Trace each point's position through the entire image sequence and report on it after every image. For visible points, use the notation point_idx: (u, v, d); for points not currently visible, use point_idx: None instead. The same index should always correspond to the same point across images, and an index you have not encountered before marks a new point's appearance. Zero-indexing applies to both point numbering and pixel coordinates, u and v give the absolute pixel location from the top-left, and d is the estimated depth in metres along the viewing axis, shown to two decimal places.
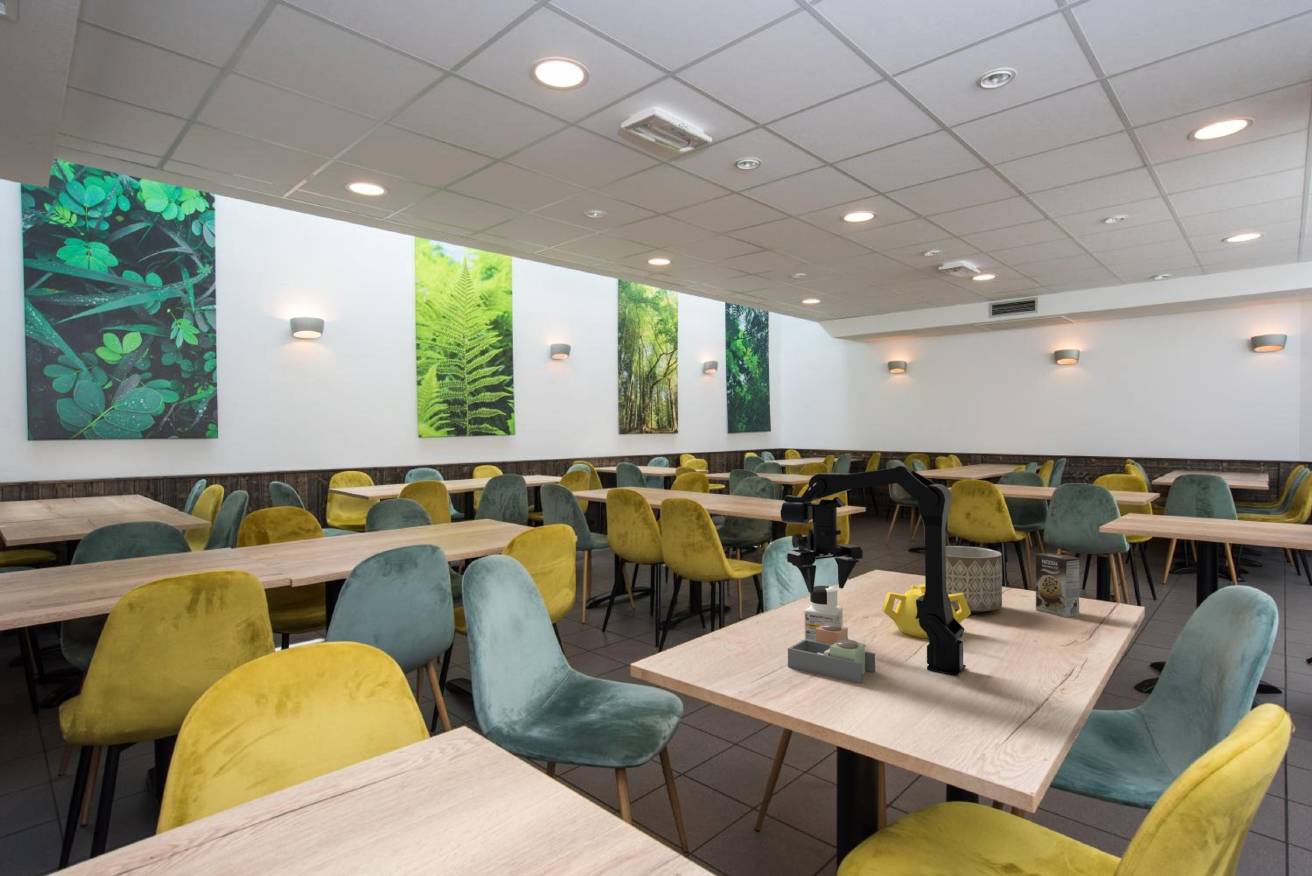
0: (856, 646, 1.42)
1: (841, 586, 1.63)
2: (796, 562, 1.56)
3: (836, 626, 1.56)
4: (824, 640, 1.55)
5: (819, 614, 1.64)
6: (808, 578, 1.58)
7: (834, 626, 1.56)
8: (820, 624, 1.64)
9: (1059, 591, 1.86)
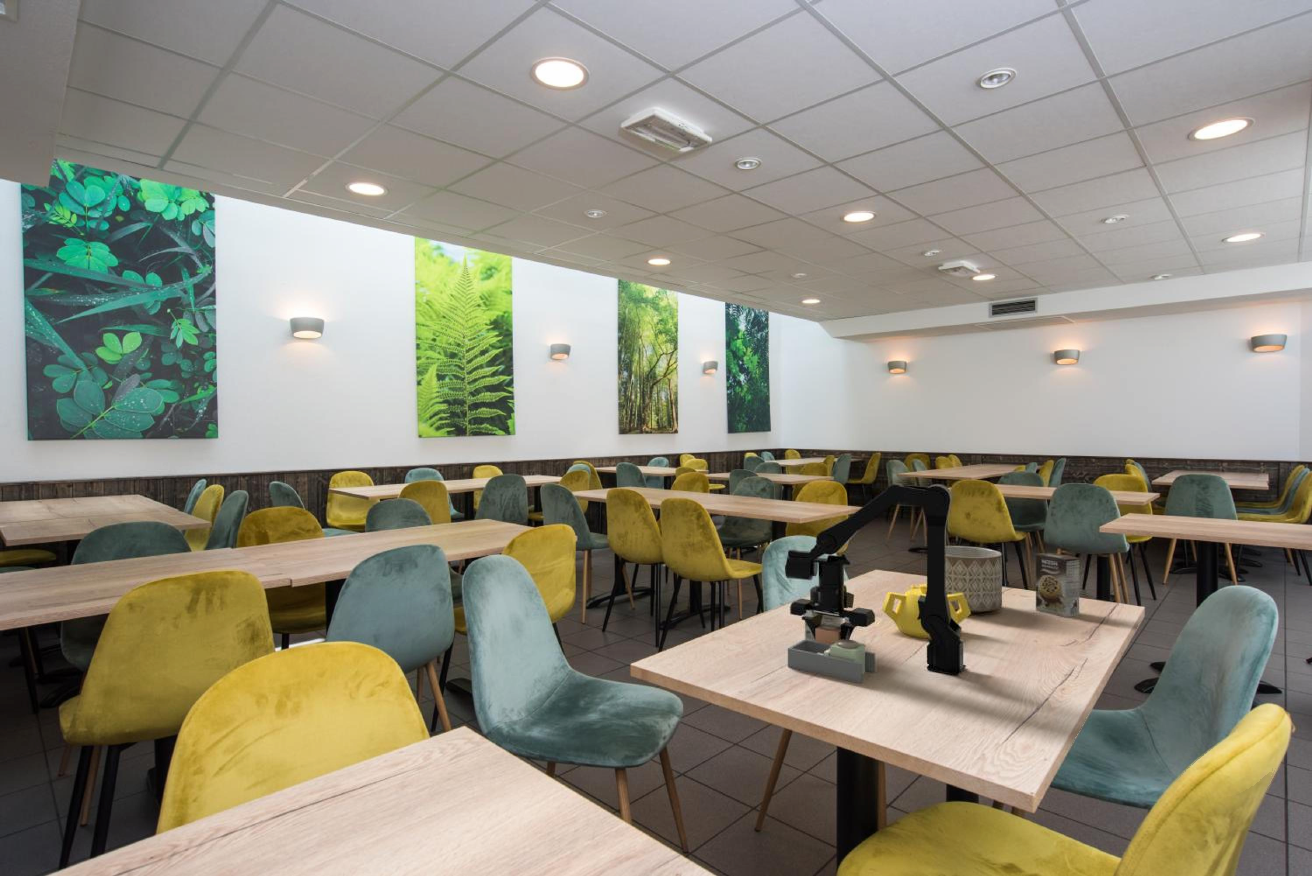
0: (856, 646, 1.42)
1: None
2: None
3: (836, 626, 1.56)
4: (824, 639, 1.55)
5: None
6: None
7: (834, 626, 1.56)
8: None
9: (1059, 591, 1.86)
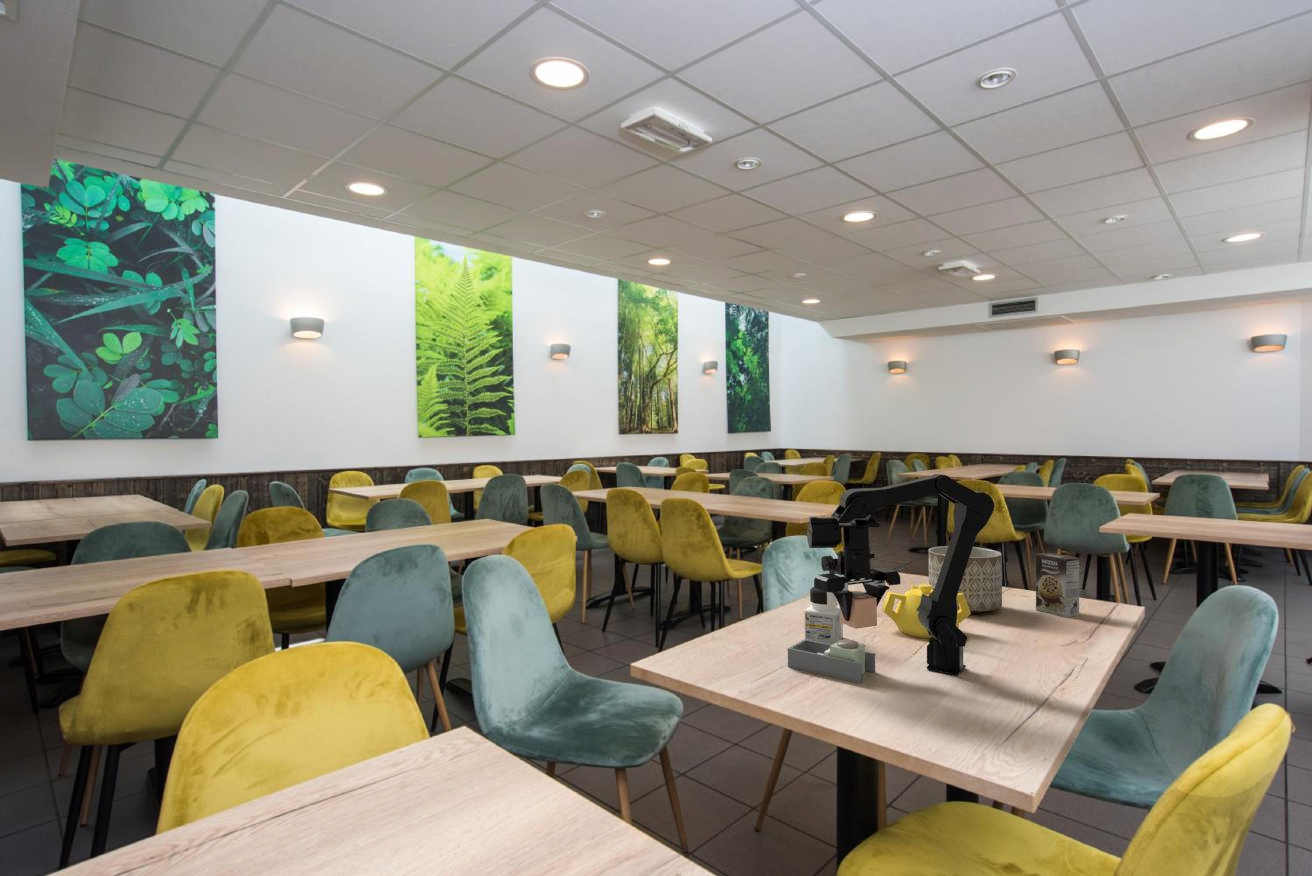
0: (856, 646, 1.42)
1: None
2: (823, 588, 1.42)
3: (862, 593, 1.47)
4: (864, 609, 1.44)
5: (819, 614, 1.64)
6: (844, 605, 1.44)
7: (862, 593, 1.46)
8: (820, 624, 1.64)
9: (1059, 591, 1.86)
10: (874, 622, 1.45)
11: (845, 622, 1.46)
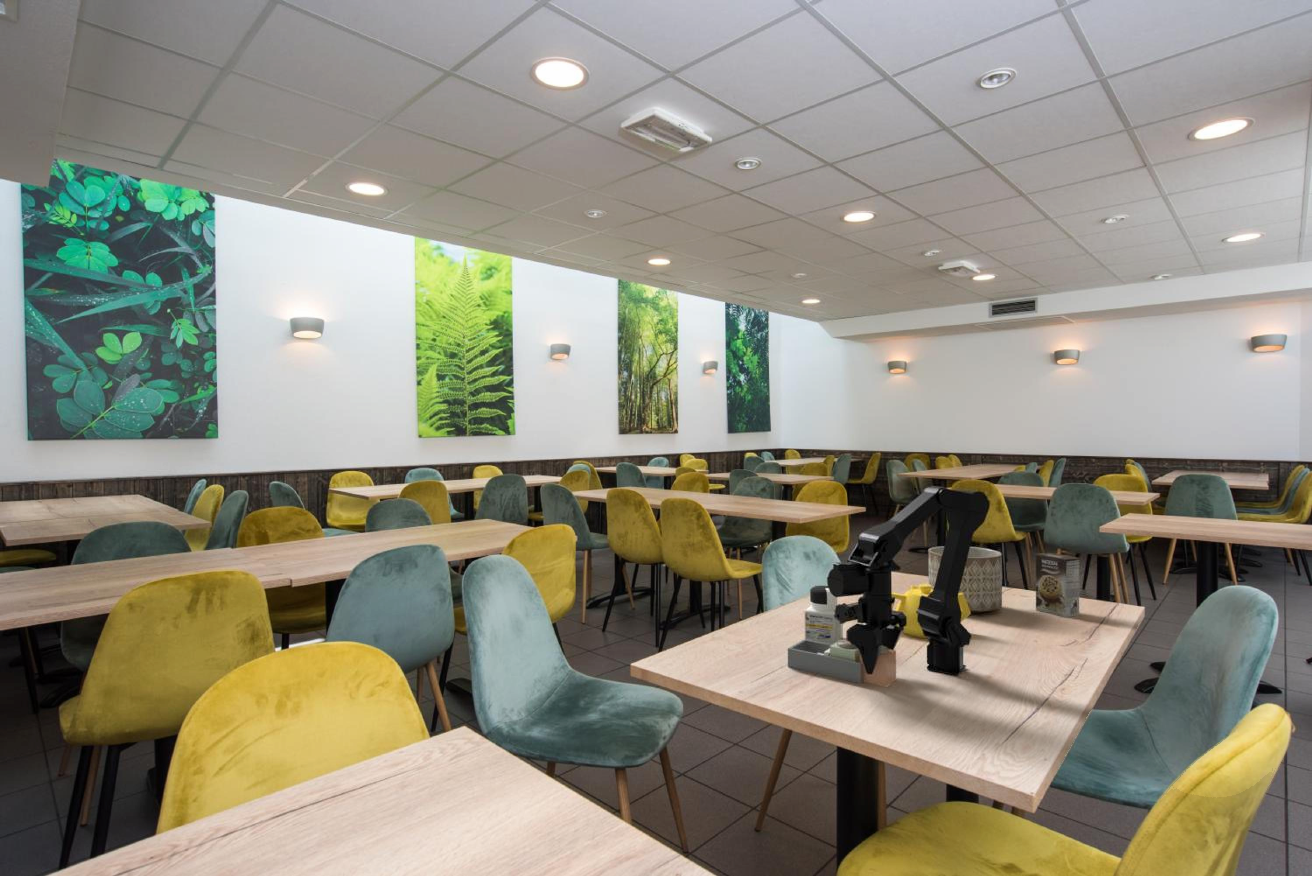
0: None
1: None
2: (865, 642, 1.32)
3: None
4: (890, 665, 1.38)
5: (819, 614, 1.64)
6: (871, 658, 1.35)
7: None
8: (820, 624, 1.64)
9: (1059, 591, 1.86)
10: (894, 676, 1.40)
11: (869, 681, 1.38)
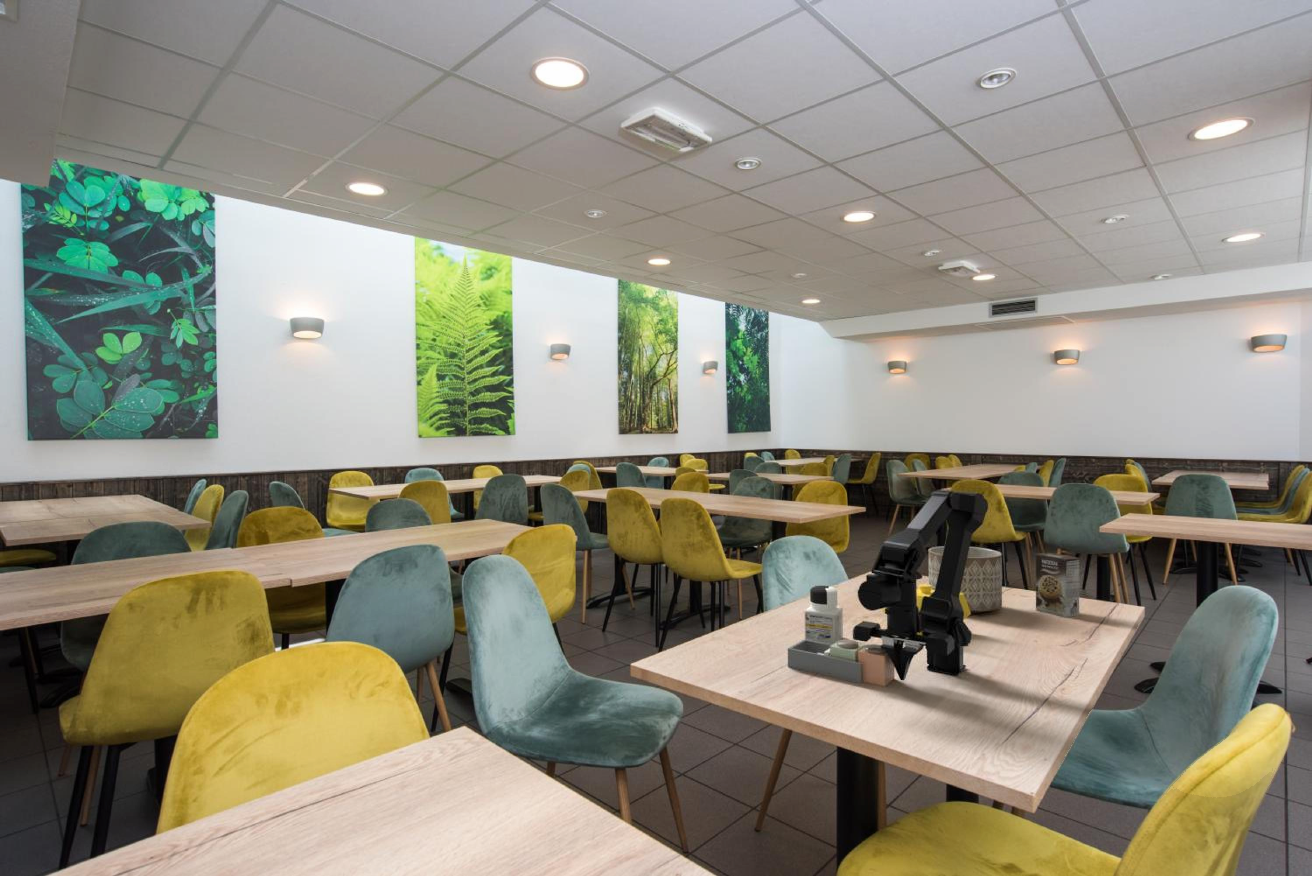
0: (856, 646, 1.42)
1: None
2: None
3: (878, 646, 1.41)
4: (888, 664, 1.38)
5: (819, 614, 1.64)
6: None
7: (879, 646, 1.40)
8: (820, 624, 1.64)
9: (1059, 591, 1.86)
10: (893, 675, 1.40)
11: (867, 680, 1.38)
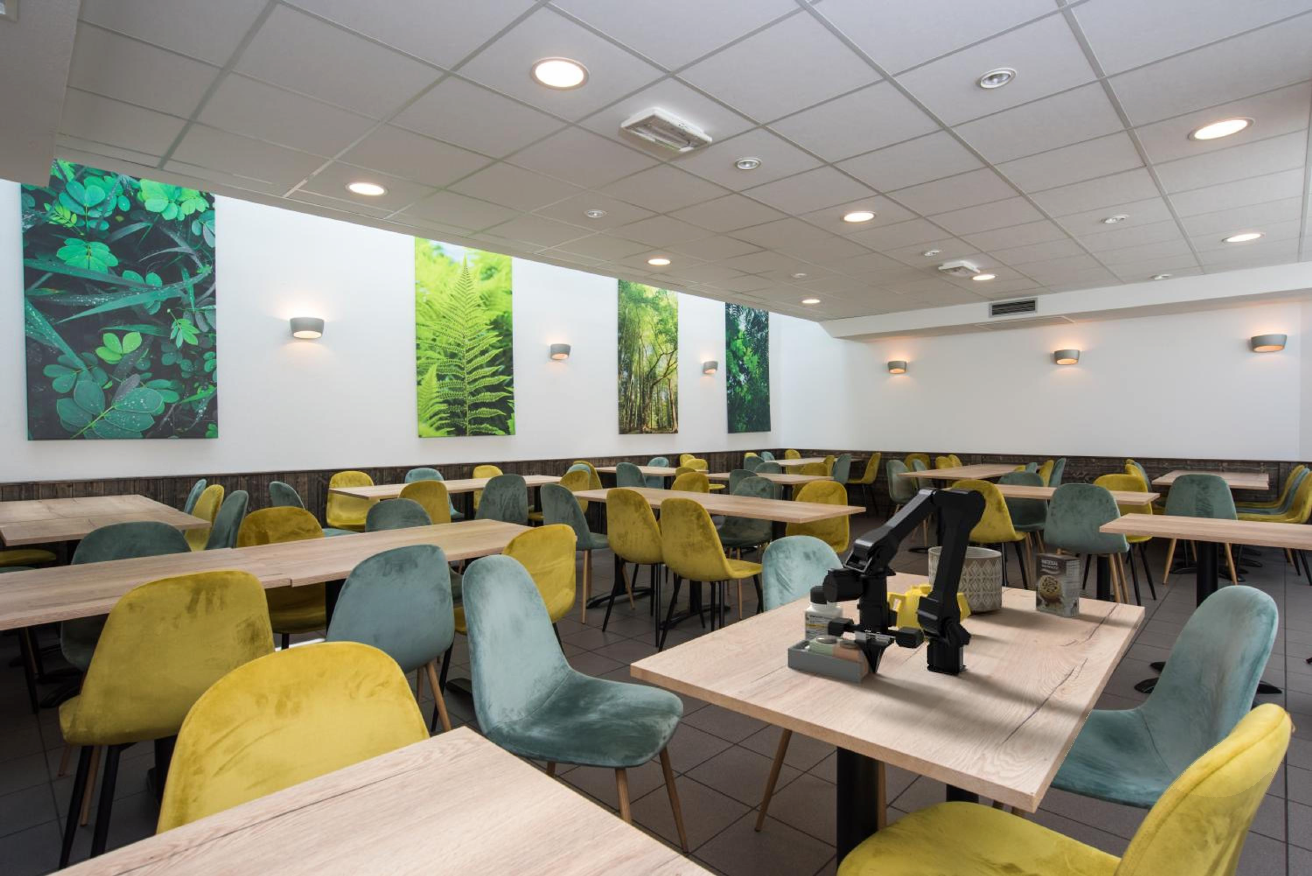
0: (835, 641, 1.45)
1: None
2: None
3: (853, 641, 1.44)
4: (862, 659, 1.41)
5: (819, 614, 1.64)
6: None
7: (853, 642, 1.44)
8: (820, 624, 1.64)
9: (1059, 591, 1.86)
10: (867, 669, 1.43)
11: None
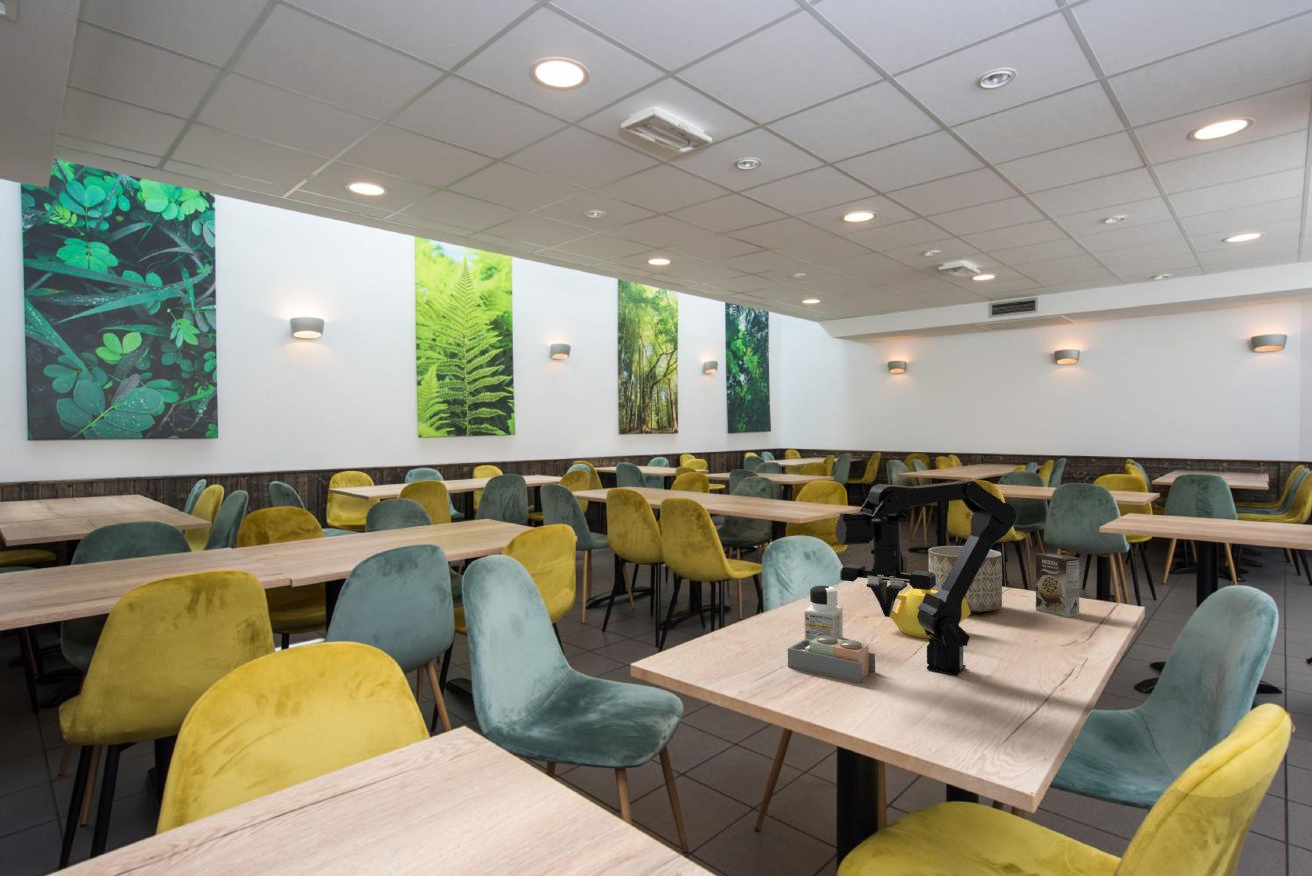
0: (835, 642, 1.45)
1: None
2: None
3: (853, 641, 1.44)
4: (862, 659, 1.41)
5: (819, 614, 1.64)
6: None
7: (854, 642, 1.44)
8: (820, 624, 1.64)
9: (1059, 591, 1.86)
10: (867, 670, 1.43)
11: None
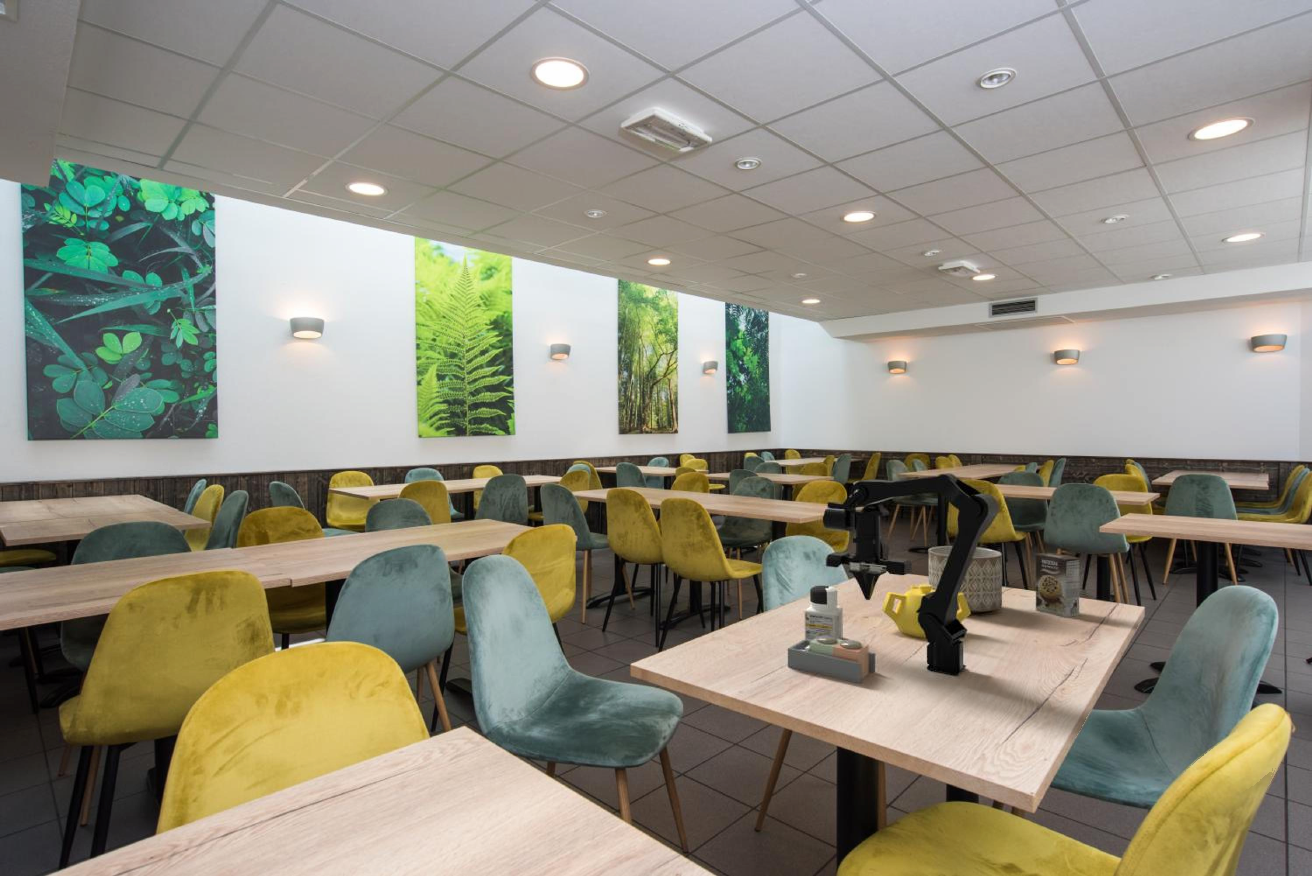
0: (835, 642, 1.45)
1: None
2: None
3: (853, 641, 1.44)
4: (862, 659, 1.41)
5: (819, 614, 1.64)
6: None
7: (853, 642, 1.44)
8: (820, 624, 1.64)
9: (1059, 591, 1.86)
10: (867, 670, 1.43)
11: None
